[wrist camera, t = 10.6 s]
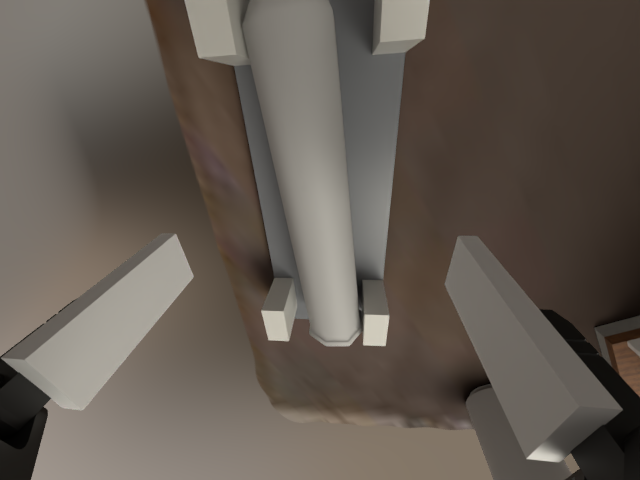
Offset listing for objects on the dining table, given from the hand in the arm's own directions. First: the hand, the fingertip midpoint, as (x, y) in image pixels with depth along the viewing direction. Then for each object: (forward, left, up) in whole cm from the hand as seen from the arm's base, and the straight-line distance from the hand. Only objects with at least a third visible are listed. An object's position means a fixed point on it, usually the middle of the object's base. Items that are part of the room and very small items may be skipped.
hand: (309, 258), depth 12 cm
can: (-22, +30, -11) cm, 39 cm away
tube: (0, +1, -10) cm, 10 cm away
